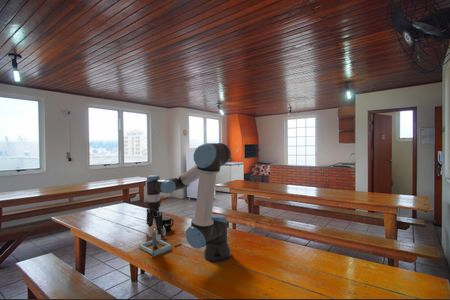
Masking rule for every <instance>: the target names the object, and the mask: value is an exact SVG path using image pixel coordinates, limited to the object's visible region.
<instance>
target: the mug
mask: <svg viewBox="0 0 450 300" xmlns="http://www.w3.org/2000/svg"><path fill="white" fill-rule="evenodd" d="M162 221H163V226H164V227H165V229H166V233H168V232H170V231H171V228H172V227H173V226H174V219H173V218H172V217H171V216H169V215H168V216H166V215H165V216H162Z"/></svg>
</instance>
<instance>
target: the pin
mask: <svg viewBox="0 0 450 300" xmlns="http://www.w3.org/2000/svg"><path fill="white" fill-rule="evenodd" d="M153 228H154V227H153ZM156 229H157V227H156V228H154V229H152V240H153V244H152V250H157V249H159V243H158V240H156Z"/></svg>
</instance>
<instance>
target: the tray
mask: <svg viewBox="0 0 450 300" xmlns="http://www.w3.org/2000/svg"><path fill="white" fill-rule="evenodd" d="M151 245H153V240H152V241H149V242H148V241H146V242H143V243H140V244H139V245H138V246H139V249H140V250H143V251H144V252H146V253H148V254H150V256H151V257H153V258H154V257H156V256H159V255H162V254H163V253H167V252H170V251H172V249H173V248H172V244H170V243H168V242H166V241H164V240H163V239H161V240H158V245H162V246H163V247H160V248H157V249H151V248H149V247H148V246H151Z"/></svg>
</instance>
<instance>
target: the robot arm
mask: <svg viewBox="0 0 450 300" xmlns="http://www.w3.org/2000/svg"><path fill="white" fill-rule="evenodd" d="M193 152H194V153H193V162H194V164H195V165H194V166H192V167H191V168H189V169H188V170H187V171H185V172H183V173H182V174H180V175H179V176H177V177H172V178H169V179H168V178H167V179H161V177H160V175H159V174H158V175H157V174H155V175H154V174H151V175H148V176H147V177H146V193H147V195H146V198H147V199H146V200H147V209H146V225H147V226H148V234H149V237H152V229H154V222H155V226H156V228H157V229H156V240H160V239H161V229H162V228H163V221H162V217H163V211H160V207H161V193H163V194H172V193H173V192H174V191H178V190H185V189H186V188H189V186H190V184H192V183H193V182H195V181H197V180H198V186H197V193H196V194H197V195H196V203H195V204H196V205H195V212H194V217H192V219H191V220H190V221H191V223H190V226H189V227H187V229H186V230H185V238H186V241H187V243H188V244H189V245H190V247H192V248H194V249H197V250H199V249H202V248H204V247H205V250H204V252H203V257H204V259H205V260H208V261H210V262H224V261H226V260H228V259H230V258H231V256H232V253H231V251H232V250H231V249H230V245H229V243H228V220H227V217H226V215H223V214H216V213H215V214H214V213H213V207H214V199H215V198H214V197H215V188H216V181H217V174H218V173H219V172H220V171H221V167H222V166H224V165H226V164H228V162H229V161H230V160H231V157H232V151H231V149H230V147H229V145H227V144H225V143H223V142H218V143H217V142H214V143H213V142H211V143H210V142H206V143H201V144H200V145H198V146H197V147H196V148H195V150H194V151H193ZM161 240H162V239H161Z"/></svg>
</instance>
